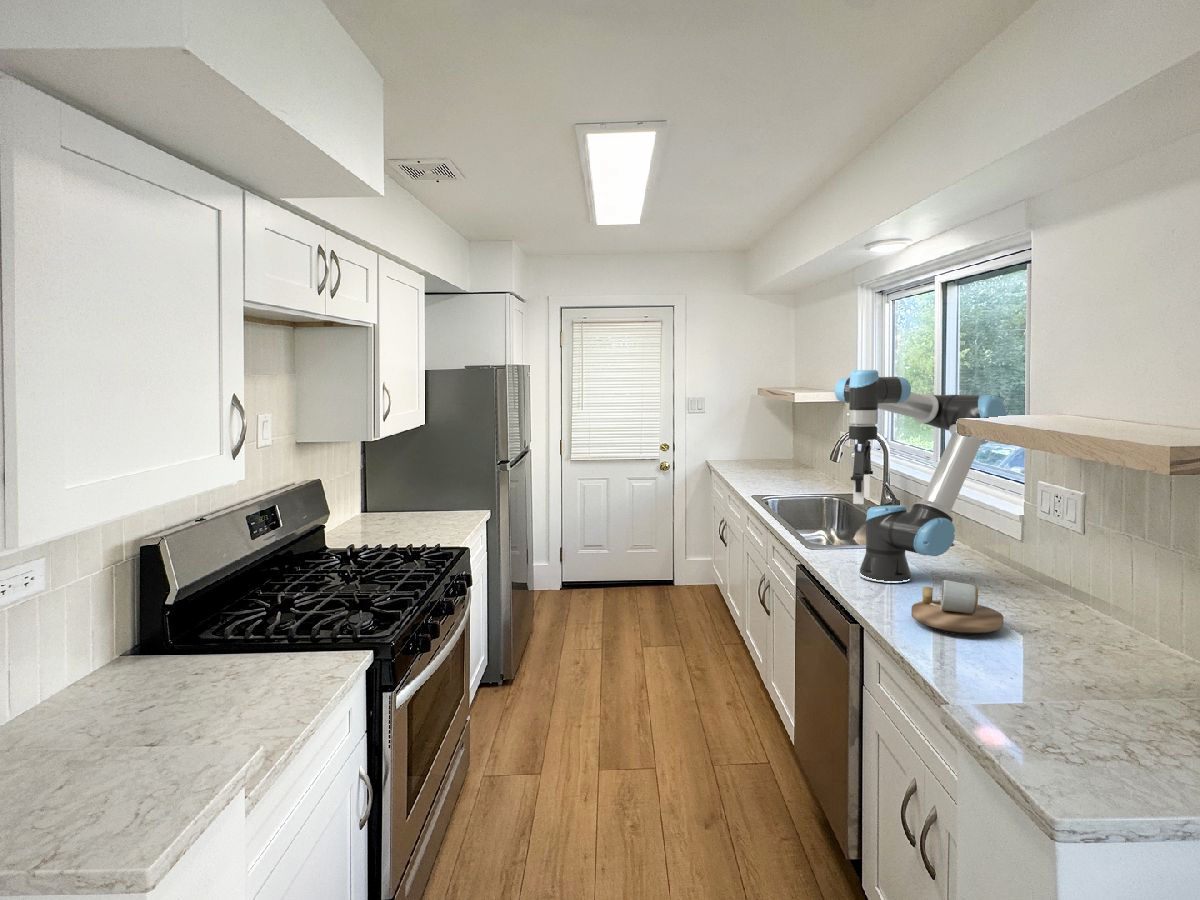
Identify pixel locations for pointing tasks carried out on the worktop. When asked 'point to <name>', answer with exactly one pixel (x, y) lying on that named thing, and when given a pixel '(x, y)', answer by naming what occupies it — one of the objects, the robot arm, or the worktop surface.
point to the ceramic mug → (959, 597)
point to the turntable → (955, 616)
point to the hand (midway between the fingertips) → (861, 500)
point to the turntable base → (956, 631)
